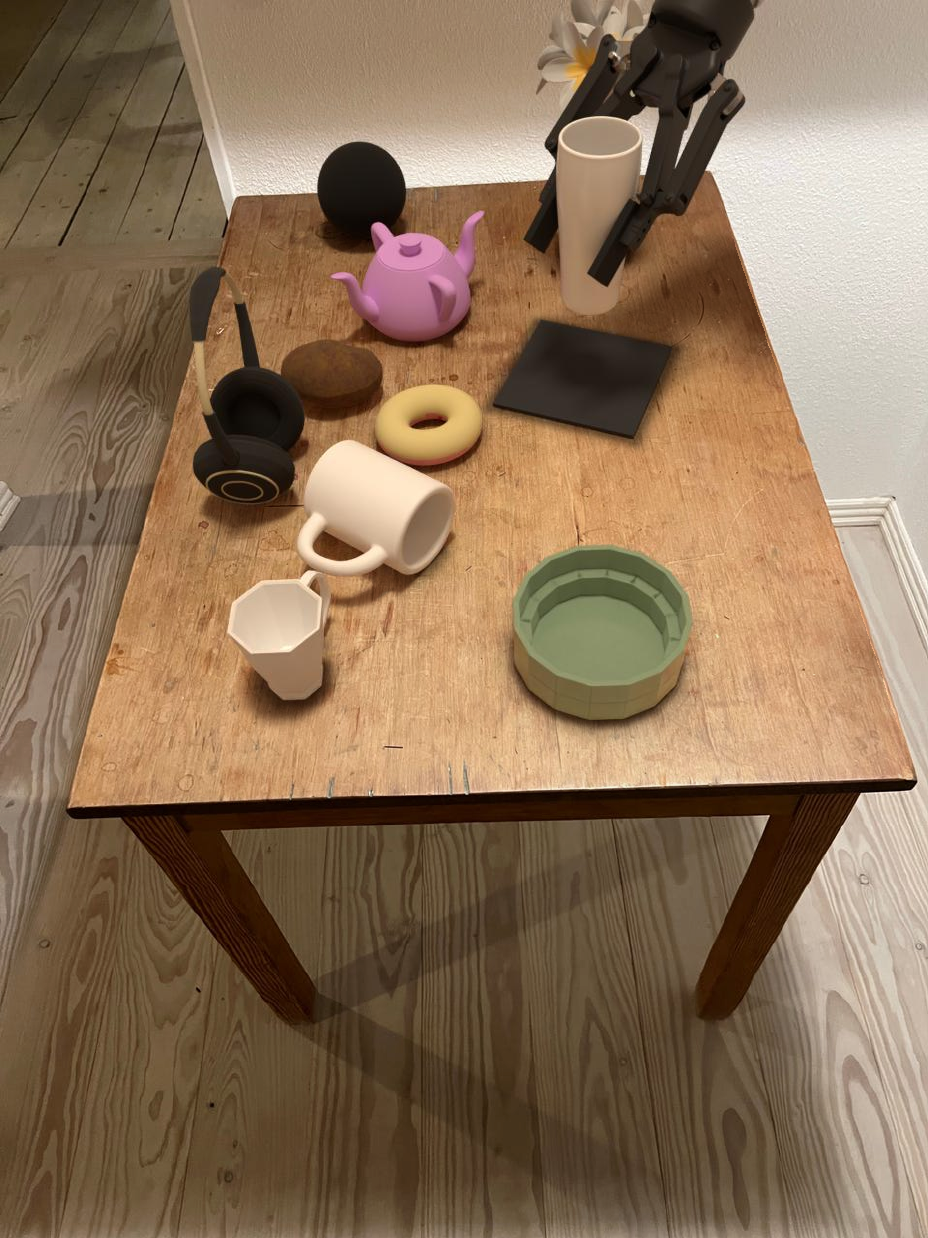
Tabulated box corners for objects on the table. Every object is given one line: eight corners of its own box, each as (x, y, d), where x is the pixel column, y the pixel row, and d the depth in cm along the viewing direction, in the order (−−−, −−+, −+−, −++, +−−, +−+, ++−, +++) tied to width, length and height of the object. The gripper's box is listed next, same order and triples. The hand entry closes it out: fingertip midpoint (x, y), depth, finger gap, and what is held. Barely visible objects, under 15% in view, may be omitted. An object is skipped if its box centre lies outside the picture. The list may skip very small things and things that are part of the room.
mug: (370, 488, 85) (358, 420, 79) (459, 533, 81) (454, 466, 75) (280, 573, 80) (259, 508, 73) (371, 626, 76) (358, 562, 69)
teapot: (487, 284, 103) (484, 208, 96) (453, 364, 95) (447, 286, 88) (384, 272, 105) (374, 196, 98) (342, 348, 97) (328, 272, 90)
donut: (488, 473, 89) (464, 399, 93) (497, 440, 85) (471, 365, 89) (384, 484, 86) (364, 408, 90) (388, 451, 82) (367, 373, 87)
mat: (672, 349, 95) (672, 345, 95) (633, 438, 87) (633, 435, 87) (540, 322, 99) (540, 319, 98) (492, 406, 91) (492, 403, 91)
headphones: (200, 535, 83) (123, 345, 67) (229, 422, 91) (167, 230, 76) (297, 534, 82) (243, 342, 66) (316, 420, 91) (273, 227, 75)
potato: (385, 417, 91) (378, 364, 86) (284, 425, 91) (270, 372, 86) (384, 373, 95) (377, 320, 90) (287, 381, 95) (274, 328, 90)
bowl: (700, 610, 75) (710, 570, 71) (656, 745, 68) (665, 708, 64) (545, 568, 78) (546, 527, 75) (489, 691, 71) (487, 654, 67)
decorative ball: (321, 215, 113) (306, 131, 105) (403, 203, 114) (394, 119, 106) (329, 261, 107) (314, 175, 99) (415, 248, 108) (407, 162, 100)
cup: (234, 700, 72) (206, 639, 66) (295, 603, 78) (274, 537, 71) (316, 727, 70) (295, 667, 64) (372, 626, 76) (358, 560, 69)
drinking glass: (543, 316, 85) (546, 150, 73) (564, 274, 89) (571, 110, 77) (616, 329, 83) (632, 162, 71) (634, 285, 87) (653, 120, 75)
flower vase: (654, 205, 111) (683, -41, 91) (648, 298, 100) (680, 41, 80) (544, 201, 113) (549, -42, 93) (526, 292, 102) (528, 39, 82)
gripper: (836, 48, 72) (671, 324, 79) (639, -17, 81) (506, 235, 88) (812, -9, 66) (635, 296, 73) (601, -72, 75) (462, 204, 82)
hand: (565, 262), depth 80 cm, fingers closed on drinking glass, 7 cm apart
